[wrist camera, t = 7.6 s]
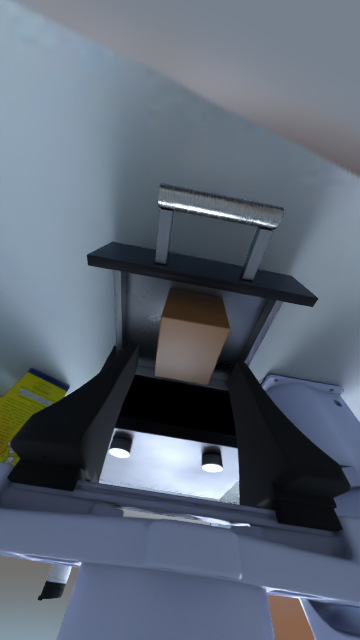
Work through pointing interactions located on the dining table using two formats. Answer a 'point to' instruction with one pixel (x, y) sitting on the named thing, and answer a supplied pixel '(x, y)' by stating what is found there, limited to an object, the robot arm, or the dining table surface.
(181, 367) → the block
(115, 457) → the black and silver box
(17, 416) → the supplement box
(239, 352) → the drawer
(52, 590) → the travel mug
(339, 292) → the dining table surface
